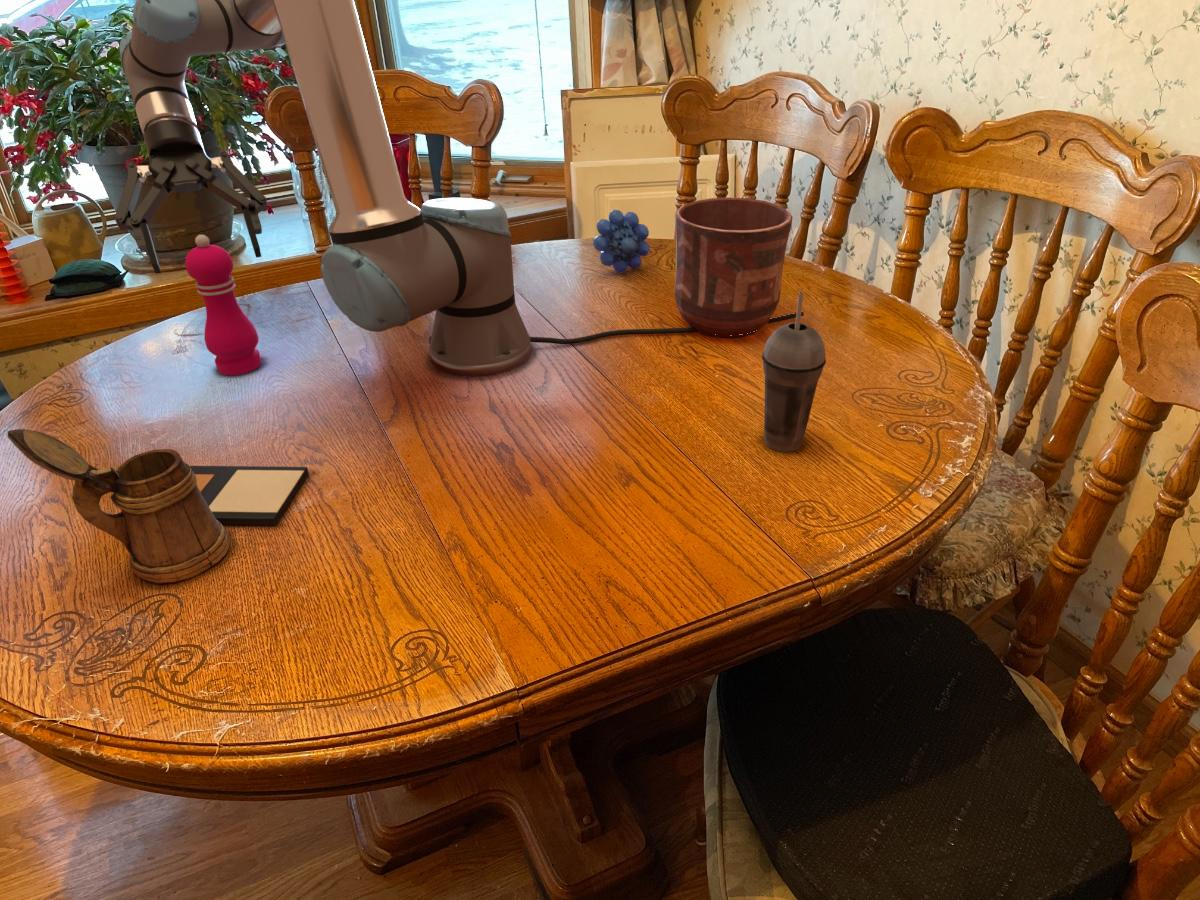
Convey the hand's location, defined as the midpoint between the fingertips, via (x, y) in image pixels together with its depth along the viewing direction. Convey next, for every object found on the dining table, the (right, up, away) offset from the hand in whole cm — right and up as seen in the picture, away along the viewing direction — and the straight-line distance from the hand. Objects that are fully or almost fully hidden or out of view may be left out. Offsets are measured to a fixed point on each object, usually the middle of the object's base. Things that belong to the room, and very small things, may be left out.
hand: (208, 260), depth 113 cm
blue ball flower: (+61, +6, +34) cm, 71 cm away
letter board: (+14, -33, -24) cm, 43 cm away
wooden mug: (+12, -39, -33) cm, 52 cm away
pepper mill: (+2, -15, +5) cm, 16 cm away
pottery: (+77, -7, +14) cm, 79 cm away
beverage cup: (+79, -27, -16) cm, 85 cm away
